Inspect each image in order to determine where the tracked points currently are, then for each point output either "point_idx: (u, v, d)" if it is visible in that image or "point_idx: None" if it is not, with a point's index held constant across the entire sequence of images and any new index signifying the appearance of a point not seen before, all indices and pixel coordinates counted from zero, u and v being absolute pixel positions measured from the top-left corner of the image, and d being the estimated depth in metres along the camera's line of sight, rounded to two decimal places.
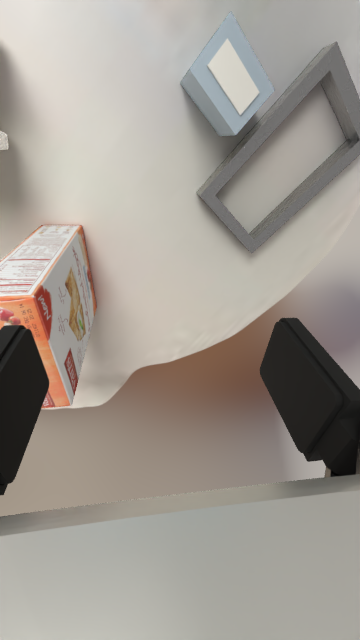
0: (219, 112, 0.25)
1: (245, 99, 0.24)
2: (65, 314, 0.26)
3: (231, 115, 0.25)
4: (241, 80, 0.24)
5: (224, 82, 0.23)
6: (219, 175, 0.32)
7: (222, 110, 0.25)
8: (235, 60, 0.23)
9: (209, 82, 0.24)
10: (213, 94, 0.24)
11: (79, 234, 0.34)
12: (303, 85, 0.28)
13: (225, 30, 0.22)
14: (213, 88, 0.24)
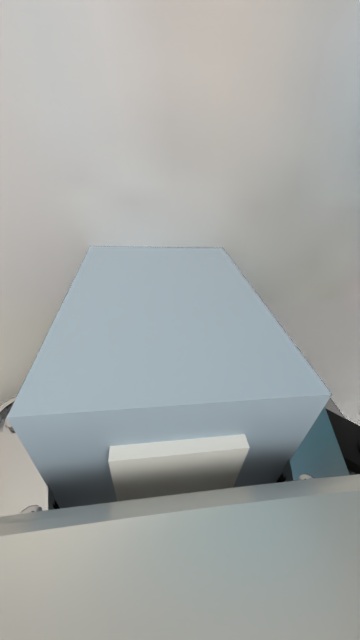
0: None
1: None
2: None
3: None
4: None
5: None
6: None
7: None
8: (216, 487, 0.05)
9: (84, 476, 0.05)
10: (80, 497, 0.05)
11: None
12: None
13: (264, 418, 0.04)
14: (88, 489, 0.05)
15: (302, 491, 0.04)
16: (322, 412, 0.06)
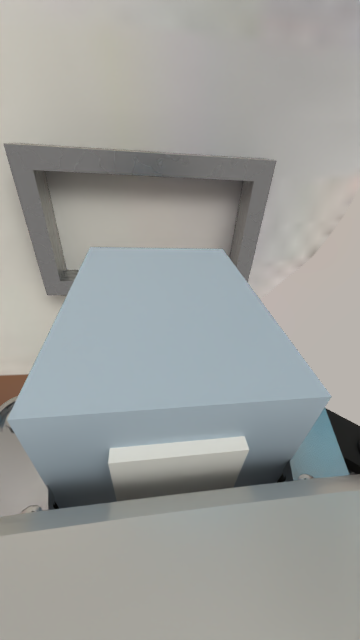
0: None
1: None
2: None
3: None
4: None
5: None
6: (56, 149, 0.18)
7: None
8: (216, 489, 0.05)
9: (84, 477, 0.05)
10: (80, 498, 0.05)
11: None
12: (223, 164, 0.20)
13: (263, 420, 0.04)
14: (88, 490, 0.05)
15: (302, 491, 0.04)
16: (322, 412, 0.06)
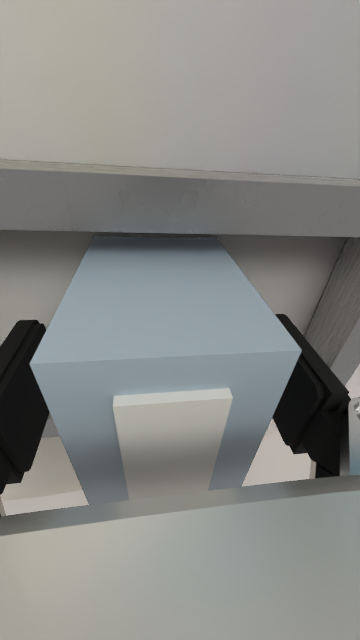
0: None
1: (165, 493, 0.08)
2: None
3: (108, 490, 0.07)
4: (186, 470, 0.07)
5: (137, 455, 0.06)
6: None
7: (90, 478, 0.07)
8: (207, 440, 0.06)
9: (91, 426, 0.06)
10: (87, 448, 0.06)
11: None
12: (345, 203, 0.08)
13: (244, 372, 0.05)
14: (95, 440, 0.06)
15: (302, 491, 0.04)
16: None
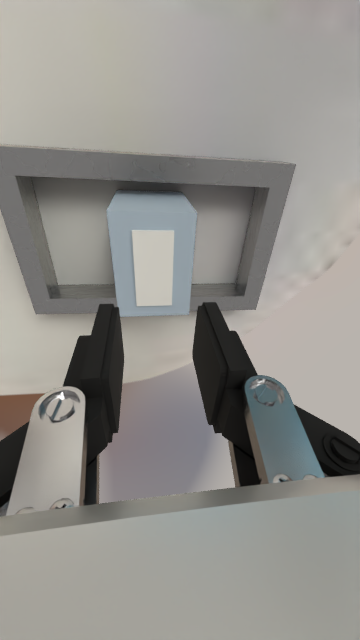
0: None
1: (152, 298, 0.17)
2: None
3: (127, 296, 0.17)
4: (160, 279, 0.16)
5: (140, 264, 0.15)
6: (41, 152, 0.15)
7: (119, 284, 0.16)
8: (167, 258, 0.15)
9: (123, 246, 0.15)
10: (120, 261, 0.15)
11: None
12: (234, 169, 0.17)
13: (178, 222, 0.14)
14: (124, 256, 0.15)
15: (302, 491, 0.04)
16: (290, 406, 0.06)
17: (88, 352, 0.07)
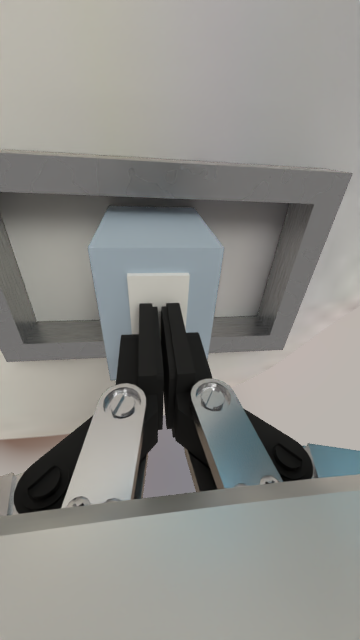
0: None
1: None
2: None
3: None
4: None
5: None
6: None
7: (110, 343, 0.12)
8: None
9: (114, 296, 0.10)
10: (111, 315, 0.11)
11: None
12: (270, 179, 0.12)
13: (195, 261, 0.10)
14: (116, 308, 0.10)
15: (302, 491, 0.04)
16: (237, 406, 0.06)
17: (140, 350, 0.08)
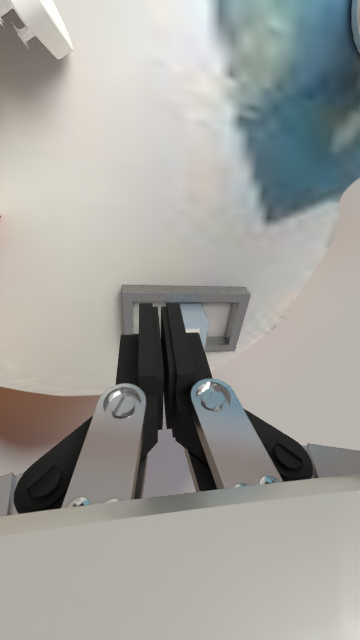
0: None
1: None
2: None
3: None
4: None
5: None
6: (145, 294, 0.37)
7: None
8: None
9: None
10: None
11: None
12: (224, 296, 0.39)
13: (201, 326, 0.36)
14: None
15: (302, 491, 0.04)
16: (237, 406, 0.06)
17: (140, 350, 0.08)
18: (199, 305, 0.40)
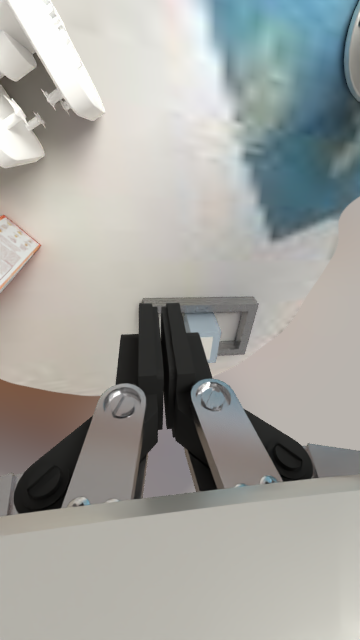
0: None
1: None
2: None
3: None
4: (206, 351, 0.43)
5: None
6: None
7: None
8: (209, 345, 0.42)
9: None
10: None
11: (33, 254, 0.34)
12: (234, 306, 0.44)
13: (214, 334, 0.41)
14: None
15: (302, 491, 0.04)
16: (237, 406, 0.06)
17: (140, 350, 0.08)
18: (211, 314, 0.45)
